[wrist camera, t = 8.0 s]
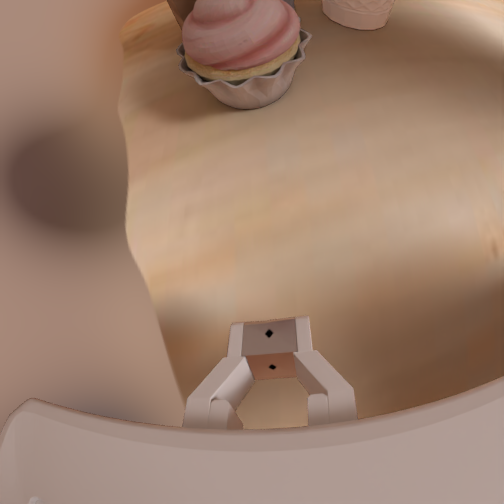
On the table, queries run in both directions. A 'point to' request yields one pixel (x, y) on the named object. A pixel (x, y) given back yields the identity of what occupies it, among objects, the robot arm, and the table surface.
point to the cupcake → (243, 49)
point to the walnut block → (181, 9)
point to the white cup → (358, 12)
